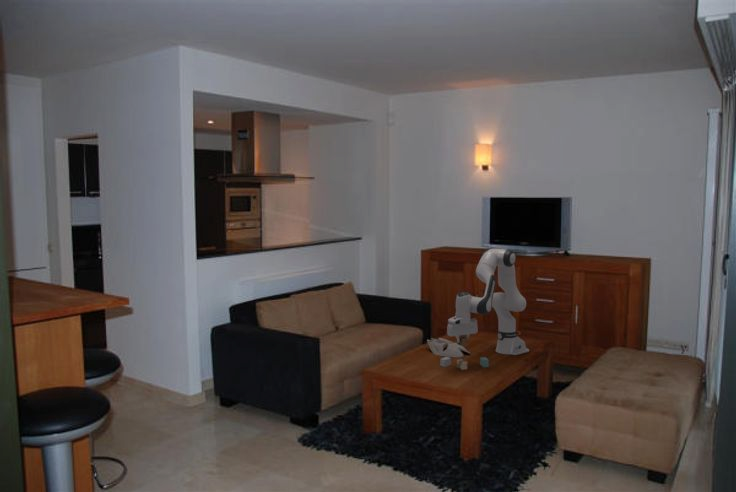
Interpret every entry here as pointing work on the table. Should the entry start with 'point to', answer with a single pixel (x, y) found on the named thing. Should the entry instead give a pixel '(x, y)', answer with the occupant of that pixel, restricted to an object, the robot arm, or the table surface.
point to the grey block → (445, 361)
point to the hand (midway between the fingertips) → (462, 341)
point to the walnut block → (463, 341)
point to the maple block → (462, 364)
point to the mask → (451, 350)
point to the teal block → (484, 362)
